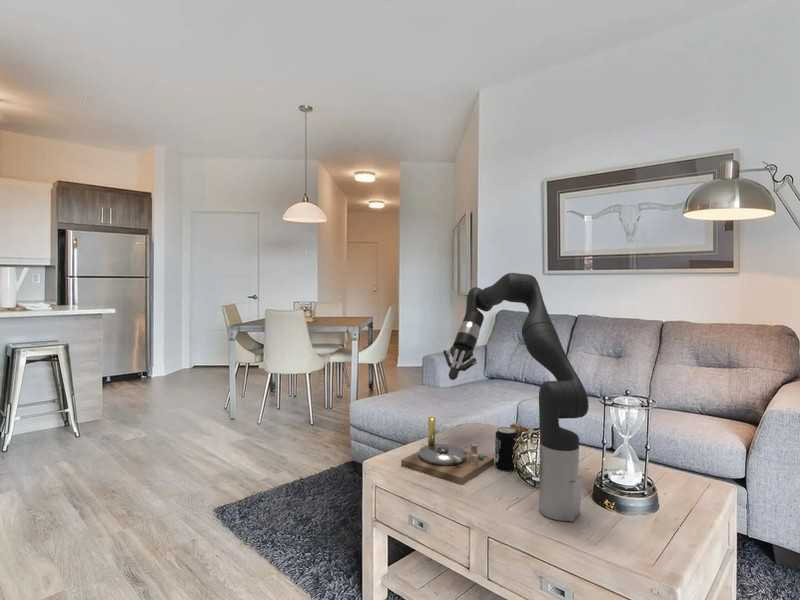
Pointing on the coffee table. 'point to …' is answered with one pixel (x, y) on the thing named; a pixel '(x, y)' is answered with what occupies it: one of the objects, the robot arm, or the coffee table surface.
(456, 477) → the turntable
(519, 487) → the coffee table surface
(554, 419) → the robot arm
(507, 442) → the beverage can
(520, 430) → the lion figurine
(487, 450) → the coffee table surface
